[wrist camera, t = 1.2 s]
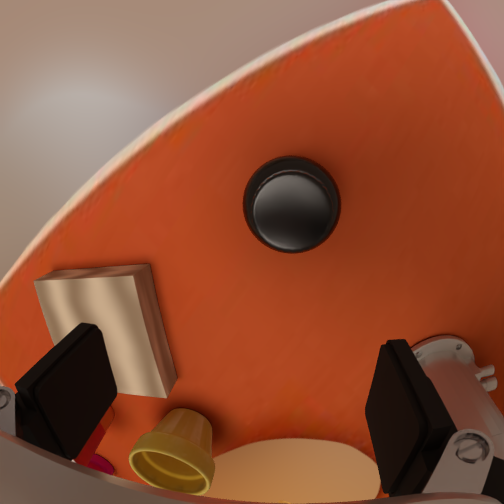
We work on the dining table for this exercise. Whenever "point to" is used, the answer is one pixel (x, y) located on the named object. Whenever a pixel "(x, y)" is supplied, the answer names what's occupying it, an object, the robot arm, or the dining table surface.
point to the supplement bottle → (291, 204)
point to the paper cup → (95, 439)
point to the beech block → (114, 321)
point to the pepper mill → (100, 464)
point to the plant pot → (176, 453)
